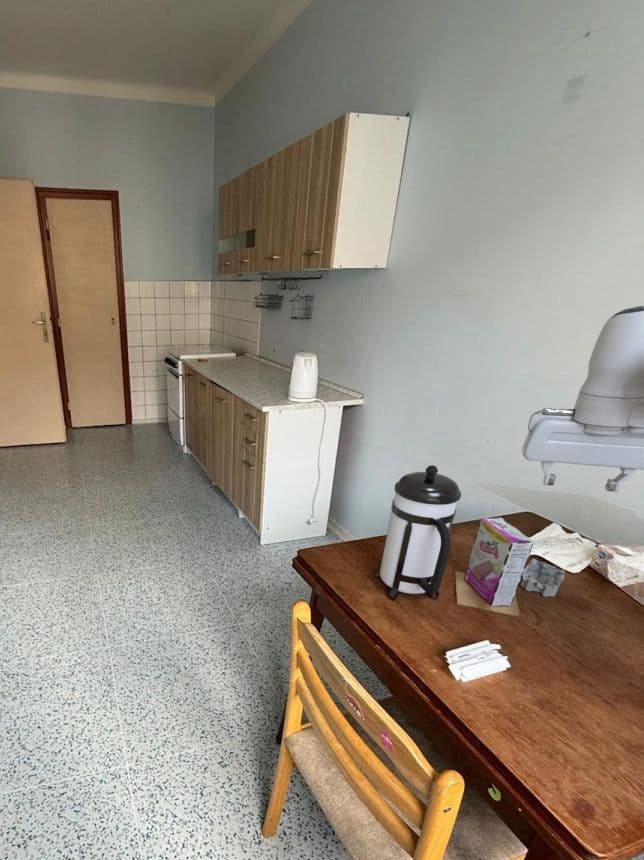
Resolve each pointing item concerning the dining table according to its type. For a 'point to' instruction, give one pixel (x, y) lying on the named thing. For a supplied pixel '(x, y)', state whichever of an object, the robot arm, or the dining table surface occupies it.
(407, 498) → the coffee press
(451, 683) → the dining table surface
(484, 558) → the candy bar box
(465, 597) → the cork pad
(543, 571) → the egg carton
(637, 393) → the robot arm
